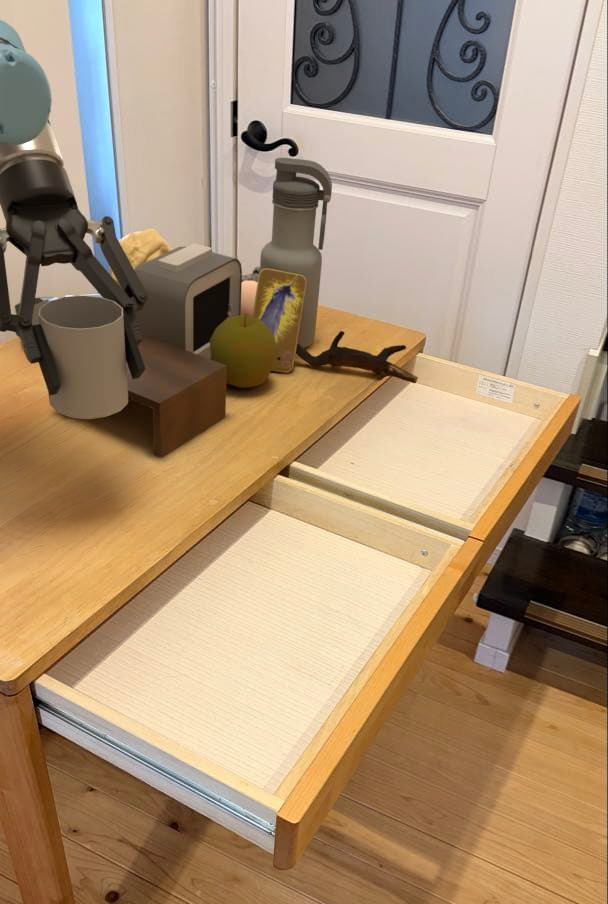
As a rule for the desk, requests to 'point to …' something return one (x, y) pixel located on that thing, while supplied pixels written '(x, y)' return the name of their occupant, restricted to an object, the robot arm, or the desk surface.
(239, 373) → the apple
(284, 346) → the smartphone
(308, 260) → the water bottle
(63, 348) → the cup
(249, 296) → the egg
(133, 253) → the tan curved lump
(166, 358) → the shelf
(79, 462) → the desk surface
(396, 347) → the toy
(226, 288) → the alarm clock
